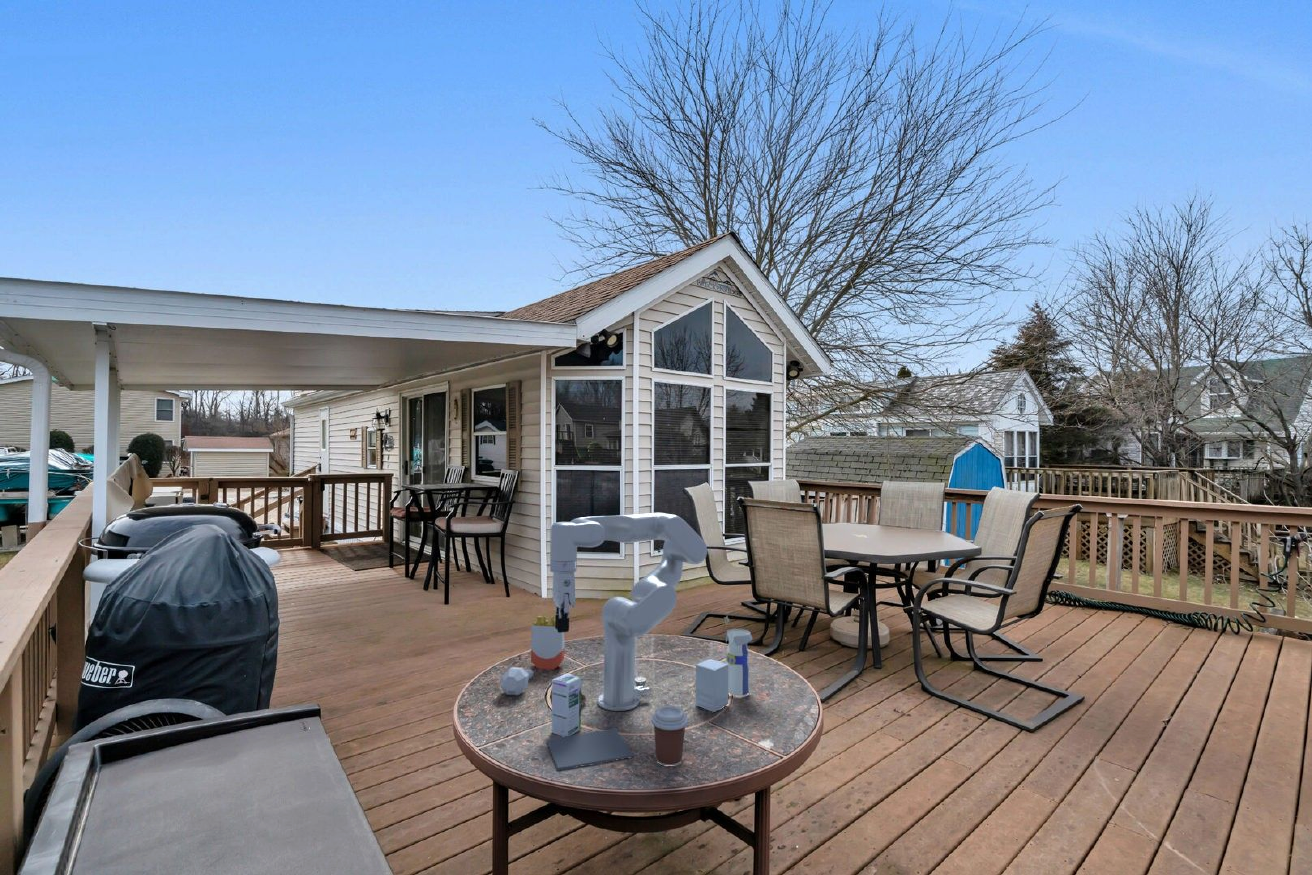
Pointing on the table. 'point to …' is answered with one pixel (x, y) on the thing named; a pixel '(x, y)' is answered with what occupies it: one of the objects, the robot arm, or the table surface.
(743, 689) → the spray bottle
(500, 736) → the table surface
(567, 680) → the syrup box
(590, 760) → the rubber mat
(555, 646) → the french fries container
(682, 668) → the table surface
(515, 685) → the chicken leg
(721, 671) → the supplement box
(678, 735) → the coffee cup
